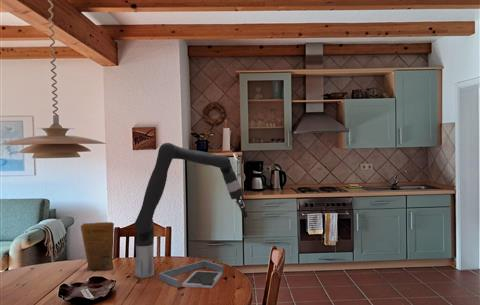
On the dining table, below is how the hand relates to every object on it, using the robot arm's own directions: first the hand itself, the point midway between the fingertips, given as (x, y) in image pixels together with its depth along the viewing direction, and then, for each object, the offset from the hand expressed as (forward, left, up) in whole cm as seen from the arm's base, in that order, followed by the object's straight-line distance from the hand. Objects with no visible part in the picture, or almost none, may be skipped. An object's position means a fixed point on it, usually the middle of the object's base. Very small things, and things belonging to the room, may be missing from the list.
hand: (245, 215), depth 216 cm
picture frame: (-26, +7, -32) cm, 42 cm away
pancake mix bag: (-56, +65, -31) cm, 91 cm away
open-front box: (-26, +16, -31) cm, 43 cm away
